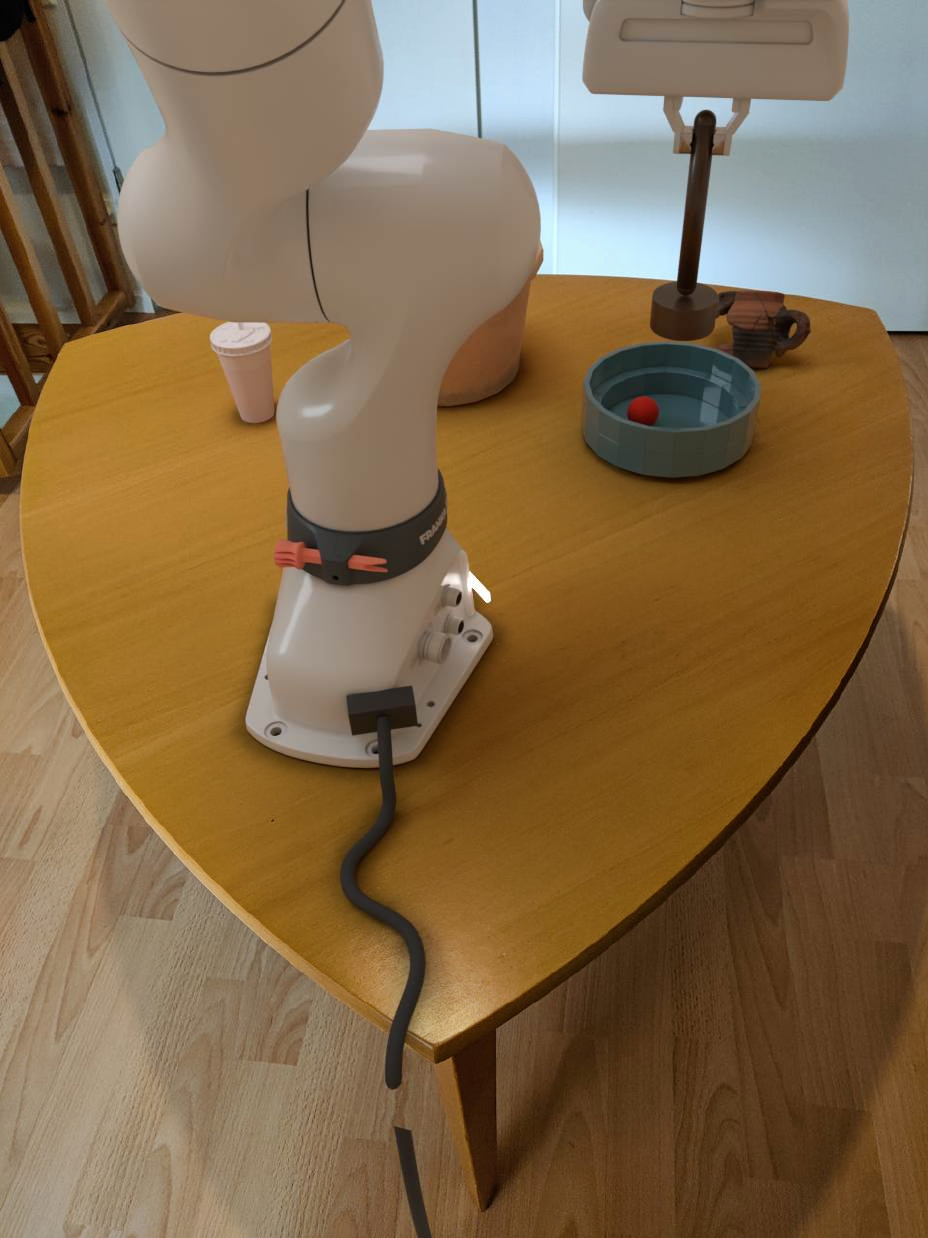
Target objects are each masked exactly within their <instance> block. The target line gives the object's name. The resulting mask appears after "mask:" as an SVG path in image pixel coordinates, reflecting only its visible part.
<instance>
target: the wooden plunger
mask: <svg viewBox="0 0 928 1238" xmlns="http://www.w3.org/2000/svg"><path fill="white" fill-rule="evenodd" d="M692 126H693V139H692V148H691V154H689V165H688V174H687V183H686V193H685V200H684V201H685V202H684V211H683V221H682V230H681V239H680V247H679V257H678V267H677V277H676V281H671V282H666V283H664V284H661V285H659V286H657V287H656V288H655V289H654V290H653V292H652V294H651V305H650V315H649V328H650V330H651V331H652V332H653V333H654V334H655V335H657V336H659V337H661V338H663V339H666V340H669V341H674V342H693V341H699V340H702V339H704V338H707V337H708V336H710V335H712V333H713V332H714V330H715V326H716V320H717V319H716V313H717V306H718V299H719V296H718V294H719V293H718V292H717V291H716V290H715V288H712V287H711V286H709V285H706V284H704V283H700V282H698V279H699V278H698V277H699V270H700V260H701V253H702V245H703V236H704V227H705V221H706V220H705V219H706V210H707V204H708V195H709V187H710V179H711V172H712V171H711V170H712V164H713V163H712V161H713V155H712V147H713V145H714V144H713V138H714V132H715V130H716V127H717V115H716V114H715V113H714V112H713V111H712V110H710V109H702V110H700V111H699V112H698V113H696V115H695V117H694V119H693V125H692Z"/></svg>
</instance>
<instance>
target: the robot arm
mask: <svg viewBox="0 0 928 1238" xmlns="http://www.w3.org/2000/svg"><path fill="white" fill-rule="evenodd" d="M103 1H104V3H105V6H106V7H107V9H108V11H109V13H110V15H111V16H112V18H113V20H114V22H115V24H116V26H117V28H118V30H119V32H120V33H121V35H122V37H123V39H124V41H125V43H126V44H127V47H128V49H129V51H130V53H131V54H132V56H133V59H134V60H135V62H136V64H137V66H138V68H139V70H140V72H141V74H142V76H143V78H144V80H145V81H146V84H147V86H148V88H149V91H150V92H151V95H152V97H153V99H154V101H155V103H156V106H157V109H158V111H159V112H160V116H161V117H162V120H163V122H164V125H165V130H164V132H163V134H162V135H161V136H160V138H158V139H157V140H156V141H155V142H154V143H153V144H151V145H149V146H148V147H147V148H145V149H143V150H142V151H140V153H139V154H138V155H137V156H136V158H135V159H134V161H133V162H132V164H131V165H130V167H129V169H128V171H127V173H126V174H125V177H124V180H123V183H122V185H121V188H120V192H119V197H118V202H117V213H116V222H117V232H118V238H119V239H118V240H119V244H120V248H121V251H122V254H123V256H124V260H125V261H126V264H127V265H128V266H127V267H128V269H129V270H130V273H131V274H132V276H133V277H134V279H135V280H136V282H137V283H138V284H139V286H140V288H142V289H143V291H144V292H145V294H146V295H147V296H148V297H149V298H150V299H151V300H152V301H153V302H154V303H155V304H156V305H158V306H159V307H161V308H163V309H166V310H171V311H175V312H179V313H184V314H188V315H192V316H197V317H201V318H207V319H213V320H218V321H223V322H234V323H266V324H271V323H272V324H273V323H275V324H277V323H278V324H280V323H282V324H283V323H285V324H289V323H294V324H295V323H297V324H299V323H301V324H303V323H304V324H305V323H306V324H307V323H308V324H309V323H311V324H314V323H315V324H318V323H321V324H322V323H323V324H324V323H325V324H328V323H329V324H330V323H331V324H336V325H337V324H338V325H341V326H344V327H345V328H346V329H347V331H348V333H349V338H347V339H345V340H344V341H342V342H341V343H339V344H338V345H336V346H333V347H332V348H329V349H327V350H325V351H323V352H322V353H320V354H318V355H316V356H315V357H312V358H311V359H310V360H308V361H307V362H306V363H305V364H303V365H302V366H301V367H300V368H298V369H297V371H296V372H294V373H293V374H292V375H291V376H290V377H289V379H288V380H287V382H286V383H285V384H284V386H283V388H282V390H281V392H280V394H279V398H278V402H277V406H276V413H275V414H276V415H275V423H276V427H277V433H278V437H279V442H280V447H281V452H282V457H283V460H284V462H283V463H284V466H285V472H286V477H287V479H288V480H287V481H288V490H287V493H286V508H285V527H286V531H287V533H286V534H287V535H286V539H285V538H280V539H278V540H277V541H276V543H275V546H274V548H273V550H274V551H273V563H274V565H275V566H276V567H278V568H282V574H281V579H280V583H279V588H278V593H277V596H276V597H277V598H276V603H275V608H274V613H273V618H272V622H271V626H270V629H269V633H268V636H267V640H266V643H265V646H264V650H263V653H262V657H261V660H260V664H259V667H258V671H257V675H256V679H255V681H254V685H253V689H252V693H251V696H250V700H249V703H248V707H247V711H246V715H245V719H244V720H245V721H244V722H245V729H246V731H247V732H248V734H250V736H252V738H254V739H255V740H256V741H257V742H259V743H260V744H262V745H263V746H265V747H267V748H268V749H271V750H273V751H274V752H276V753H277V752H278V753H280V754H283V755H285V756H289V757H292V758H294V759H297V760H298V759H299V760H302V761H307V762H311V763H316V764H322V765H327V766H334V767H341V768H342V767H343V768H353V769H355V768H357V769H373V768H374V769H375V768H378V770H379V772H378V774H379V781H380V789H381V797H382V800H381V807H380V811H379V814H378V817H377V818H376V820H375V822H374V823H373V825H372V826H371V827H370V828H369V830H368V831H367V832H366V833H365V834H364V835H363V836H362V837H361V838H360V839H359V840H358V841H356V842H355V844H353V845H352V847H351V848H350V849H349V850H348V851H347V853H346V854H345V856H344V857H343V859H342V862H341V865H340V870H339V871H340V872H339V876H340V877H339V878H340V879H339V880H340V885H341V889H342V892H343V893H344V895H345V897H346V898H347V900H348V901H349V902H350V903H351V904H352V905H353V906H355V907H356V908H357V909H359V910H360V911H362V912H364V914H366V915H369V916H371V917H372V918H375V919H376V920H378V921H380V922H381V923H384V924H385V925H387V926H388V927H390V928H392V929H393V930H395V932H397V933H398V934H399V935H400V936H401V938H402V939H403V940H404V943H405V945H406V947H407V951H408V955H409V972H408V975H407V980H406V983H405V987H404V989H403V991H402V995H401V997H400V1000H399V1003H398V1005H397V1008H396V1010H395V1014H394V1016H393V1020H392V1022H391V1026H390V1029H389V1034H388V1037H387V1043H386V1050H385V1060H384V1061H385V1063H384V1082H385V1085H386V1087H387V1088H388V1089H389V1090H391V1091H393V1090H398V1089H399V1088H400V1086H401V1085H402V1082H403V1059H404V1049H405V1043H406V1038H407V1034H408V1031H409V1026H410V1024H411V1021H412V1018H413V1015H414V1013H415V1010H416V1008H417V1004H418V1001H419V999H420V996H421V993H422V990H423V986H424V981H425V976H426V952H425V947H424V944H423V940H422V938H421V935H420V933H419V931H418V930H417V928H416V927H415V926H414V925H413V923H412V922H411V921H410V920H409V919H407V918H406V917H405V916H404V915H402V914H401V913H399V912H398V911H396V910H395V909H393V908H391V907H389V906H387V905H385V904H383V903H381V902H379V901H377V900H375V899H373V898H372V897H370V896H369V895H367V894H366V893H365V892H363V890H362V889H361V888H360V887H359V885H358V884H357V881H356V877H355V876H356V875H355V874H356V873H355V872H356V868H357V866H358V864H359V863H360V862H361V860H362V858H363V857H364V856H365V855H366V854H367V853H368V852H369V851H370V850H371V849H373V847H374V846H375V845H377V843H378V842H379V841H380V840H381V839H382V837H383V836H385V834H386V832H387V831H388V829H389V828H390V826H391V824H392V822H393V819H394V816H395V813H396V808H397V789H396V783H395V776H394V775H395V774H394V766H396V765H401V764H404V763H408V762H411V761H413V760H415V759H416V758H417V757H418V756H419V755H420V754H421V752H422V751H423V749H424V748H425V746H426V745H427V743H428V742H429V740H430V738H432V736H433V734H434V732H435V731H436V729H437V727H438V726H439V725H440V723H441V721H442V720H443V718H444V717H445V715H446V713H447V712H448V710H449V709H450V707H451V706H452V704H453V703H454V701H455V699H456V698H457V696H458V694H459V693H460V692H461V690H462V688H463V687H464V685H465V684H466V682H467V681H468V679H469V678H470V676H471V675H472V672H473V671H474V669H475V668H476V666H477V665H478V664H479V662H480V661H481V659H482V657H483V655H484V654H485V653H486V651H487V649H488V648H489V646H490V645H491V643H492V641H493V639H494V630H493V625H492V624H491V622H490V621H489V620H488V619H487V618H486V617H484V615H482V614H481V613H479V612H478V611H477V610H476V609H475V599H474V594H473V589H474V590H475V592H476V593H477V594H478V595H479V596H480V597H481V598H482V599H483V600H484V601H485V602H486V603H490V602H491V593H490V591H489V590H487V588H486V587H485V586H484V585H483V584H482V583H481V582H480V581H479V580H478V579H477V578H476V576H475V575H473V573H472V572H471V571H470V564H469V557H468V554H467V552H466V551H465V549H464V547H462V545H461V544H460V543H459V542H458V541H457V539H456V538H455V536H454V535H453V534H452V532H451V531H450V529H449V528H448V508H449V507H448V505H449V503H448V493H447V488H446V487H445V479H444V476H443V474H442V472H441V470H440V468H439V467H438V451H437V450H438V449H437V422H438V421H437V417H438V416H437V415H438V406H437V403H438V395H439V391H440V387H441V383H442V380H443V377H444V374H445V372H446V370H447V368H448V366H449V364H450V362H451V360H452V359H453V357H454V356H455V354H456V352H457V351H458V349H459V348H460V347H461V346H462V344H463V343H464V342H465V341H466V340H467V338H468V337H469V336H470V335H471V334H472V333H473V332H474V331H475V330H476V329H477V328H478V327H480V326H481V325H482V324H483V323H484V322H486V321H487V320H488V319H489V318H491V317H492V316H494V315H495V314H497V313H498V312H500V311H501V310H503V309H504V308H506V307H507V306H508V305H509V304H510V303H511V302H512V301H513V300H514V298H515V297H516V296H517V295H518V294H519V292H520V291H521V289H522V288H523V286H524V285H525V283H526V281H527V279H528V278H529V276H530V274H531V271H532V269H533V266H534V264H535V261H536V257H537V254H538V250H539V244H540V241H541V233H542V218H541V210H540V209H541V208H540V203H539V200H538V199H539V198H538V195H537V192H536V189H535V186H534V184H533V181H532V178H531V177H530V175H529V173H528V171H527V169H526V168H525V166H524V164H523V163H522V161H521V160H520V159H519V157H517V155H516V154H515V152H514V151H513V150H512V149H511V148H510V147H509V146H508V145H507V144H505V143H503V142H500V141H494V140H490V139H485V138H482V137H478V136H473V135H469V134H464V133H458V132H453V131H447V130H441V129H435V128H393V129H392V128H391V129H390V128H389V129H369V127H370V125H371V123H372V121H373V120H374V117H375V115H376V112H377V110H378V107H379V104H380V101H381V96H382V92H383V86H384V78H385V75H384V74H385V71H384V69H385V62H384V60H385V59H384V55H383V54H384V53H383V48H382V45H381V40H380V35H379V31H378V26H377V21H376V16H375V12H374V7H373V3H372V0H103ZM582 10H583V13H584V16H585V18H586V19H587V21H588V22H589V23H588V29H587V34H586V38H585V46H584V52H583V62H582V72H581V73H582V74H581V75H582V76H581V80H582V83H583V84H584V86H585V87H586V89H587V90H588V92H589V93H590V94H593V95H611V96H614V95H615V96H640V97H641V96H642V97H643V96H644V97H645V96H646V97H663V106H662V111H663V114H664V115H665V118H666V120H667V123H668V124H669V126H670V129H671V131H672V133H674V137H673V147H672V154H675V155H690V154H691V148H692V139H693V126H694V125H686V124H685V122H684V120H683V117H682V115H681V113H680V110H681V109H682V105H683V102H684V98H707V99H708V98H712V99H732V104H731V112H732V113H733V115H732V116H731V118H730V119H729V120H728V122H727V124H726V125H725V126H716V130H715V132H714V138H713V144H714V145H713V147H712V156H719V157H730V154H731V149H732V141H733V135H735V134H736V132H737V131H738V129H739V128H740V127H741V126H742V124H743V122H744V121H745V120H746V119H747V117H748V115H749V114H750V110H751V109H750V108H751V102H752V100H771V101H772V100H774V101H775V100H776V101H807V102H808V101H811V102H830V101H831V100H833V99H834V98H835V97H836V96H837V95H838V94H839V93H840V92H841V90H843V87H844V84H845V78H846V73H847V72H846V71H847V65H848V64H847V63H848V53H849V37H850V11H849V3H848V0H582ZM376 752H377V753H376ZM393 1130H394V1136H395V1141H396V1148H397V1154H398V1160H399V1165H400V1169H401V1175H402V1179H403V1184H404V1185H403V1186H404V1189H405V1193H406V1199H407V1202H408V1203H407V1204H408V1207H409V1212H410V1215H411V1220H412V1223H413V1226H414V1229H415V1233H416V1237H417V1238H433V1237H432V1232H431V1227H430V1224H429V1219H428V1215H427V1210H426V1206H425V1201H424V1196H423V1191H422V1186H421V1181H420V1176H419V1169H418V1163H417V1157H416V1150H415V1145H414V1139H413V1133H412V1130H411V1129H408V1128H403V1127H399V1126H396V1125H393Z"/></svg>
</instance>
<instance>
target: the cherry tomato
mask: <svg viewBox="0 0 928 1238" xmlns="http://www.w3.org/2000/svg"><path fill="white" fill-rule="evenodd" d="M627 416H628V419H629V421H633V422H636V423H640V424H643V425H647V426H652V425H653V424H654V423H655V422H656V421H657V419H658V416H659V408H658V405H657V404H656V402H655V401H654V400H653V399H651V398H649V397H638V398H636V399H634V400H633V401H632V402H631V403H630V405H629V407H628V410H627Z"/></svg>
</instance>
